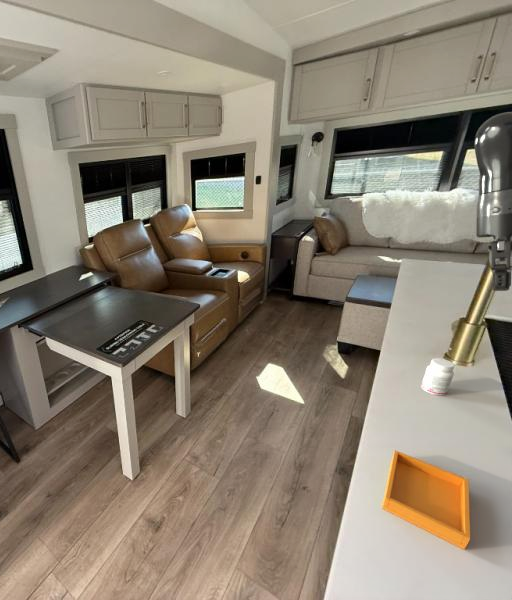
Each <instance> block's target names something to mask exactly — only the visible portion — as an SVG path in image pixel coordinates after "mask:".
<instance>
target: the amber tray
mask: <svg viewBox="0 0 512 600" xmlns="http://www.w3.org/2000/svg"><path fill="white" fill-rule="evenodd" d="M381 509H383V510H385V511H386V512H389V513H390V514H392V515H394V516H397V517H398V518H400V519H403V521H404V520H405V521H406V522H408V523H410V524H413V525H414V526H416V527H418V528H420V529H422V530H424V531H425V532H428V533H430V534H432V535H434V536H436V537H438V538H440V539H441V540H444V541H446V542H448V543H450V544H452V545H454V546H456V547H457V548H460V549H462V550H463V551H464V550H466V548H467V546H468V544H469V543H470V541H471V517H470V514H471V513H470V481H469V478H466V477H463V476H461V475H458V474H456V473H454V472H451V471H448V470H447V469H443V468H441V467H438V466H436V465H433V464H432V463H428V462H426V461H423V460H421V459H418V458H416V457H413V456H411V455H408V454H406V453H403V452H401V451H398V450H394V452H393V453H392V457H391V460H390V465H389V470H388V475H387V481H386V485H385V489H384V495H383V500H382V504H381Z"/></svg>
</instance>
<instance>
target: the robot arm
mask: <svg viewBox="0 0 512 600" xmlns="http://www.w3.org/2000/svg"><path fill="white" fill-rule="evenodd" d="M474 154H475V159H476V164H477V168H478V172H479V178H478V198H477V203H476V228H475V229H476V230H475V231H476V232H475V233H476V237H477V238H480V239H481V238H482V239H483V238H493V241H491V243H490V245H488V246H487V253H488V264H489V265H491V266H489V268H490V272H491V274H492V290H493V291H495V292H507V291H509V290H510V287H511V286H512V111H507V112H502V113H499V114H495V115H493V116H491V117H490V118H488V119H487V120H486V121H484V122H483V123H482V124H481V125H480V127H478V130H476V133H475V136H474Z"/></svg>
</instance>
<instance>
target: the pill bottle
mask: <svg viewBox="0 0 512 600" xmlns="http://www.w3.org/2000/svg"><path fill="white" fill-rule="evenodd" d="M454 369H455V364H454V362H453V361H450V360H448V359H444V358H439V357H437V358H436V357H435V358H432V359H431V361H430V364H429V365H427V367H426V369H425V373H424V376H423V378H422V380H421V381H422V382H421V384H420V387H421V389H422V390H423V391H425V392H426V393H428V394H431V395H435V396H445V395H446V394H447V393H448V391H449V388H450V386H451V383H452V380H453V378H454V376H455V375H454V374H455V372H454Z"/></svg>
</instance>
